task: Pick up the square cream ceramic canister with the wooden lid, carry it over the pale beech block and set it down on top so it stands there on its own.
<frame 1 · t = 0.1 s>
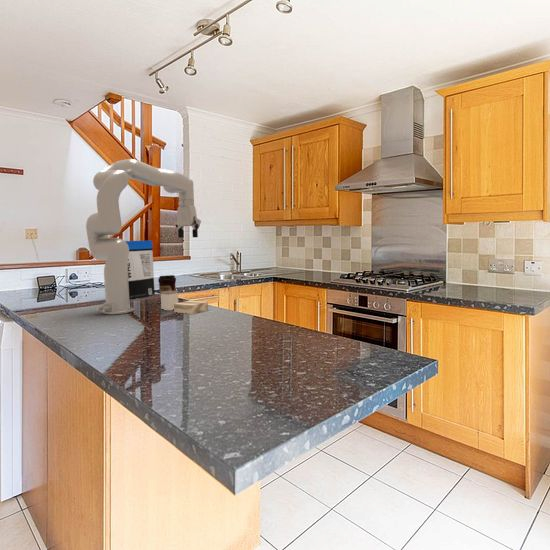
hand: (188, 237, 213), 31 cm above the worktop, tool pointing down, fingers open, 9 cm apart
block: (191, 312, 176), on the worktop
coffee cup: (168, 302, 202), on the worktop
protein powder: (137, 297, 221), on the worktop
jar: (170, 309, 182), on the worktop
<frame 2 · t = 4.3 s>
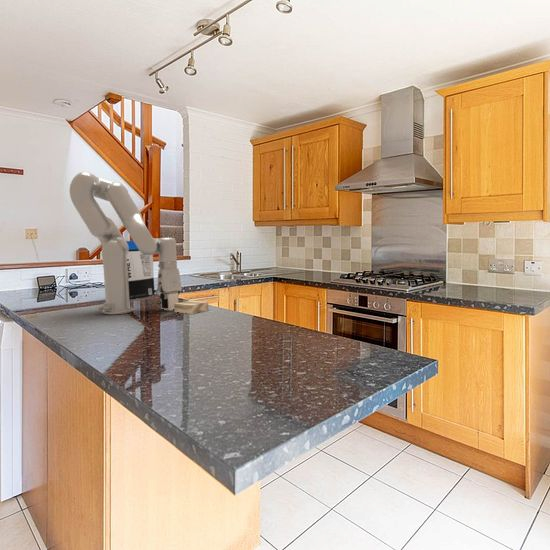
hand: (169, 306, 182), 1 cm above the worktop, tool pointing down, fingers closed on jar, 5 cm apart
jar: (170, 309, 182), on the worktop, touching gripper
everything else where it was.
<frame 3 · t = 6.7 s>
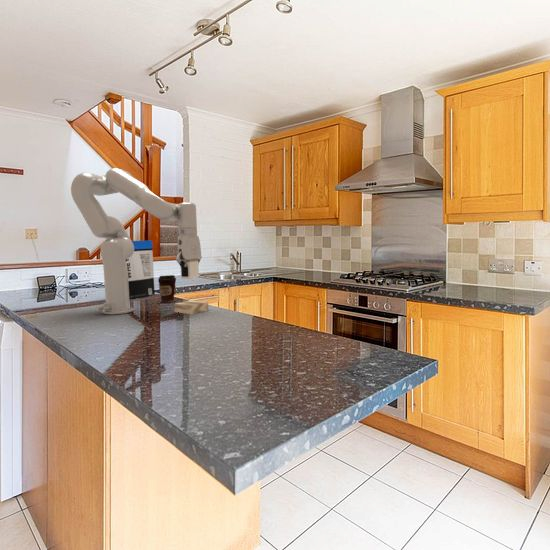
hand: (189, 275, 174), 15 cm above the worktop, tool pointing down, fingers closed on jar, 5 cm apart
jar: (190, 277, 174), point 14 cm above the worktop, touching gripper
everything else where it was.
when the fingers open (6 cm above the worktop, at t = 9.2 s): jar stays where it is, resting on block.
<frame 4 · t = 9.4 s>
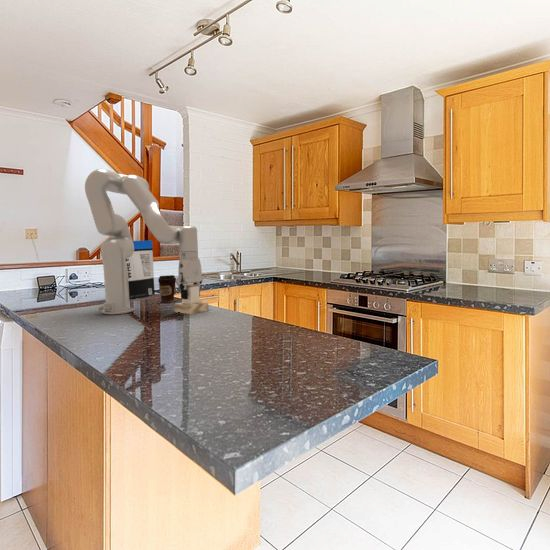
hand: (190, 297, 175), 6 cm above the worktop, tool pointing down, fingers open, 7 cm apart
block: (191, 312, 176), on the worktop, touching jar
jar: (190, 302, 176), point 4 cm above the worktop, touching block
everything else where it was.
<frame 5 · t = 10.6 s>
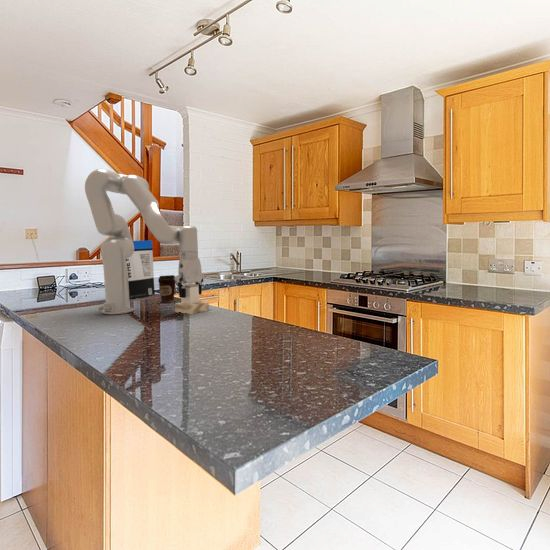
hand: (190, 296, 175), 7 cm above the worktop, tool pointing down, fingers open, 9 cm apart
block: (192, 312, 176), on the worktop
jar: (190, 302, 176), point 4 cm above the worktop
everything else where it was.
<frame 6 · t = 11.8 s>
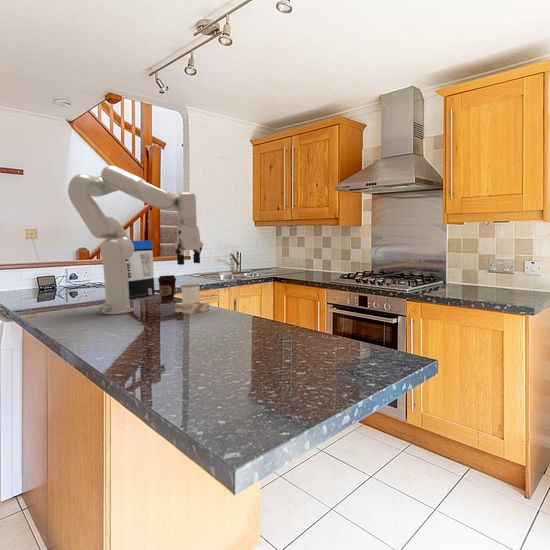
hand: (189, 263, 174), 20 cm above the worktop, tool pointing down, fingers open, 9 cm apart
nothing on the worktop moved.
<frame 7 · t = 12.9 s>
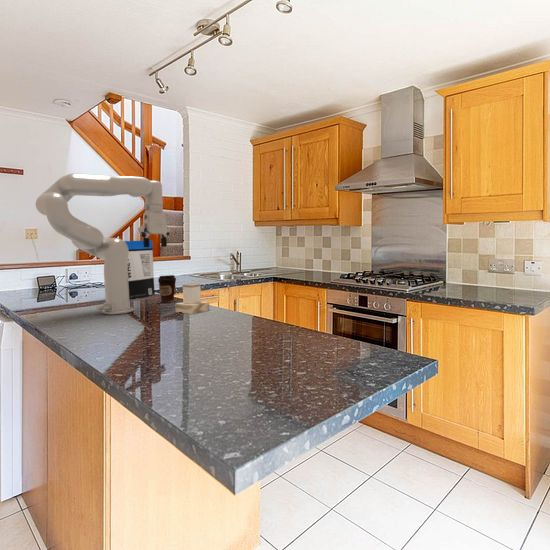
hand: (155, 246, 188), 27 cm above the worktop, tool pointing down, fingers open, 9 cm apart
block: (192, 312, 176), on the worktop, touching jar
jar: (192, 302, 176), point 4 cm above the worktop, touching block
everything else where it was.
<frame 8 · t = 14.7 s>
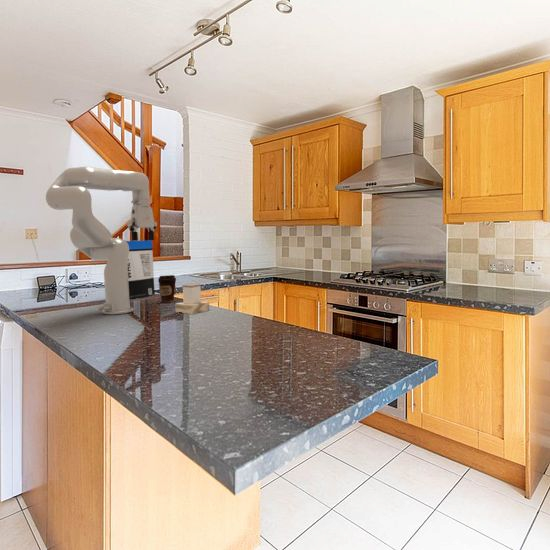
hand: (143, 240, 194), 30 cm above the worktop, tool pointing down, fingers open, 9 cm apart
block: (192, 312, 176), on the worktop
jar: (192, 302, 175), point 4 cm above the worktop
everything else where it was.
at the end: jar inside the target area on the block (0.3 cm from its centre), point 4.1 cm above the block's base; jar tilted 1°; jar touching nothing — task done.
